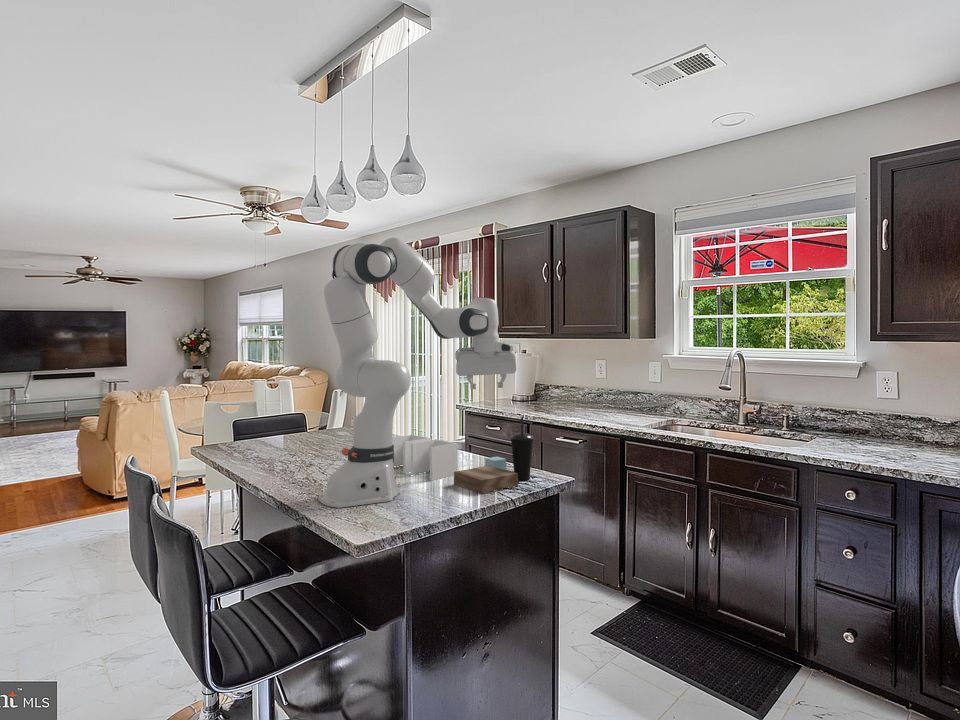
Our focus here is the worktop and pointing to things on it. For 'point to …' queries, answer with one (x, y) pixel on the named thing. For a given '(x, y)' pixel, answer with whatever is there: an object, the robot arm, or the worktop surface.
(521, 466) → the drinking cup
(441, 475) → the storage container
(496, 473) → the walnut base
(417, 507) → the worktop surface
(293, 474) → the worktop surface
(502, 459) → the teal cube
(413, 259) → the robot arm
